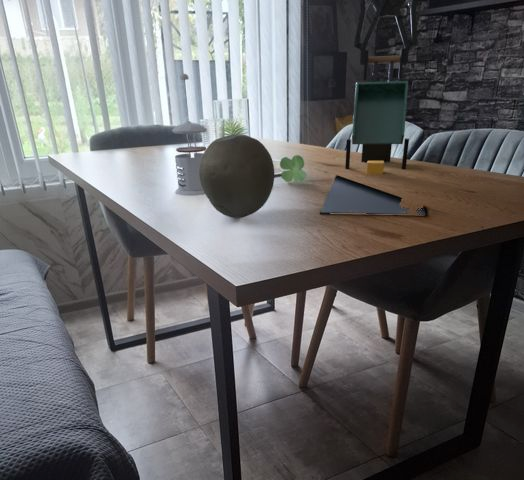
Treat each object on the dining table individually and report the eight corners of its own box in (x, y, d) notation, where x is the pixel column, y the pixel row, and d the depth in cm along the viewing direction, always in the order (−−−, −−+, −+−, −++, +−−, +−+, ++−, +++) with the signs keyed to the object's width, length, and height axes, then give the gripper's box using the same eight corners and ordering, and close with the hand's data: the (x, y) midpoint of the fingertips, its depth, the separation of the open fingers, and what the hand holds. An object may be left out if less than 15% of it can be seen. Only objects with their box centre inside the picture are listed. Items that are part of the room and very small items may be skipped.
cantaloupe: (198, 213, 99) (191, 133, 91) (265, 207, 102) (263, 129, 94) (209, 231, 87) (201, 141, 79) (284, 224, 90) (283, 136, 82)
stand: (348, 167, 141) (349, 133, 137) (403, 167, 138) (406, 133, 134) (344, 175, 130) (346, 139, 125) (404, 176, 127) (409, 139, 122)
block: (366, 179, 122) (366, 176, 125) (382, 180, 121) (382, 177, 125) (367, 163, 120) (367, 160, 123) (383, 163, 119) (383, 160, 123)
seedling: (294, 198, 130) (294, 189, 124) (273, 177, 131) (272, 168, 124) (313, 179, 130) (314, 169, 123) (292, 158, 131) (292, 148, 124)
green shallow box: (358, 64, 128) (358, 52, 123) (408, 62, 125) (410, 50, 121) (352, 144, 127) (351, 135, 122) (402, 144, 124) (404, 135, 120)
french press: (173, 196, 114) (159, 74, 102) (176, 186, 124) (163, 74, 112) (215, 194, 115) (206, 72, 102) (214, 184, 125) (206, 73, 112)
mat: (336, 176, 129) (336, 175, 129) (414, 177, 125) (414, 175, 125) (319, 214, 95) (319, 212, 95) (425, 216, 91) (425, 214, 91)
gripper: (436, -33, 114) (423, 77, 126) (347, -26, 118) (342, 80, 130) (439, -39, 108) (425, 78, 119) (345, -32, 112) (340, 80, 124)
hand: (382, 79), depth 125 cm, fingers closed on green shallow box, 8 cm apart
